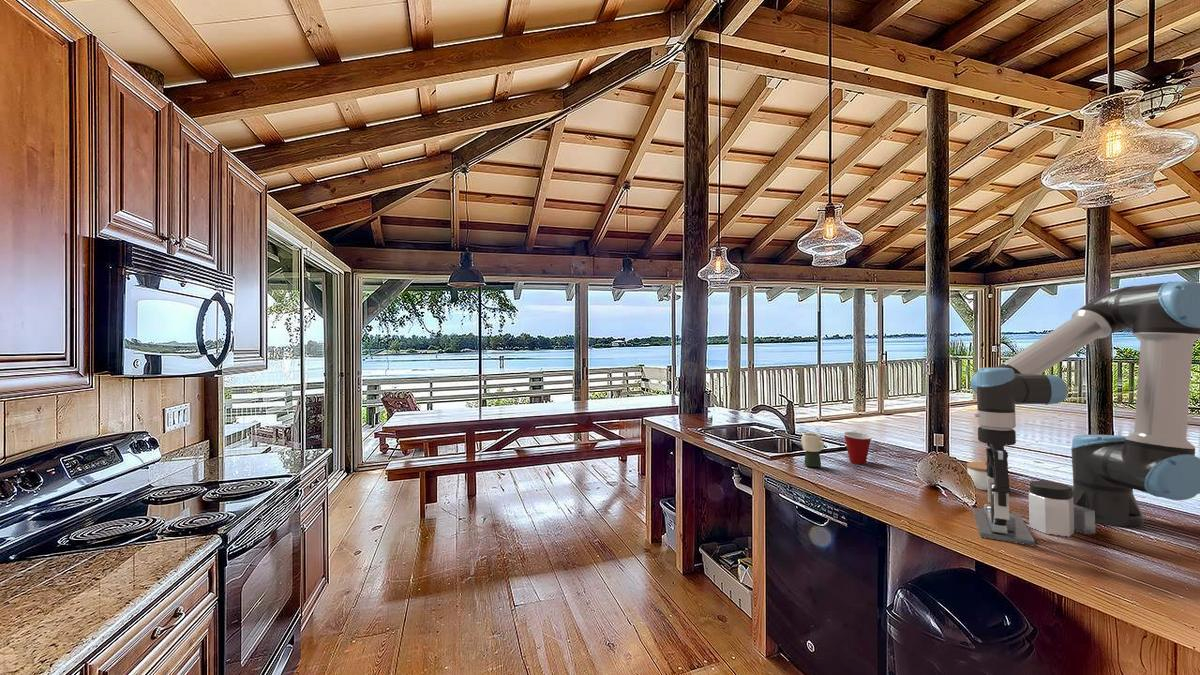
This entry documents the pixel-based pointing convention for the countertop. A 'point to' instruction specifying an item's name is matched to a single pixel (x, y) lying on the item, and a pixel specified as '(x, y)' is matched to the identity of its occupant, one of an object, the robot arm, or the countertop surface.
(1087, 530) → the backstop
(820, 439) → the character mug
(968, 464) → the lidded jar
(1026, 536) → the press base
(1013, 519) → the lever
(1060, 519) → the jar
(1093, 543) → the countertop surface
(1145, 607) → the countertop surface
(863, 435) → the plastic cup
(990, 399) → the robot arm
